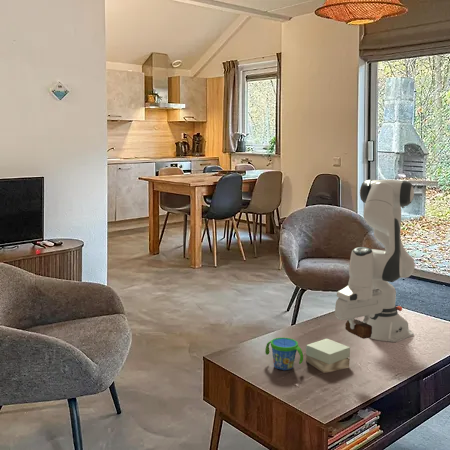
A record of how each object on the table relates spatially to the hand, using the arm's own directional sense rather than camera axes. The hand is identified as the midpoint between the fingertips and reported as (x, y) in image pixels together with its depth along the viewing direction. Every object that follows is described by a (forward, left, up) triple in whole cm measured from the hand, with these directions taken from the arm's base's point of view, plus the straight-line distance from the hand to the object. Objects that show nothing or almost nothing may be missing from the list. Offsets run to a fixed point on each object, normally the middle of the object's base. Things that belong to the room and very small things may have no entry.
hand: (358, 327), depth 205 cm
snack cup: (+21, -18, -19) cm, 33 cm away
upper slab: (+4, -12, -15) cm, 20 cm away
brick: (0, 0, -3) cm, 3 cm away
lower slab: (+4, -12, -19) cm, 23 cm away
